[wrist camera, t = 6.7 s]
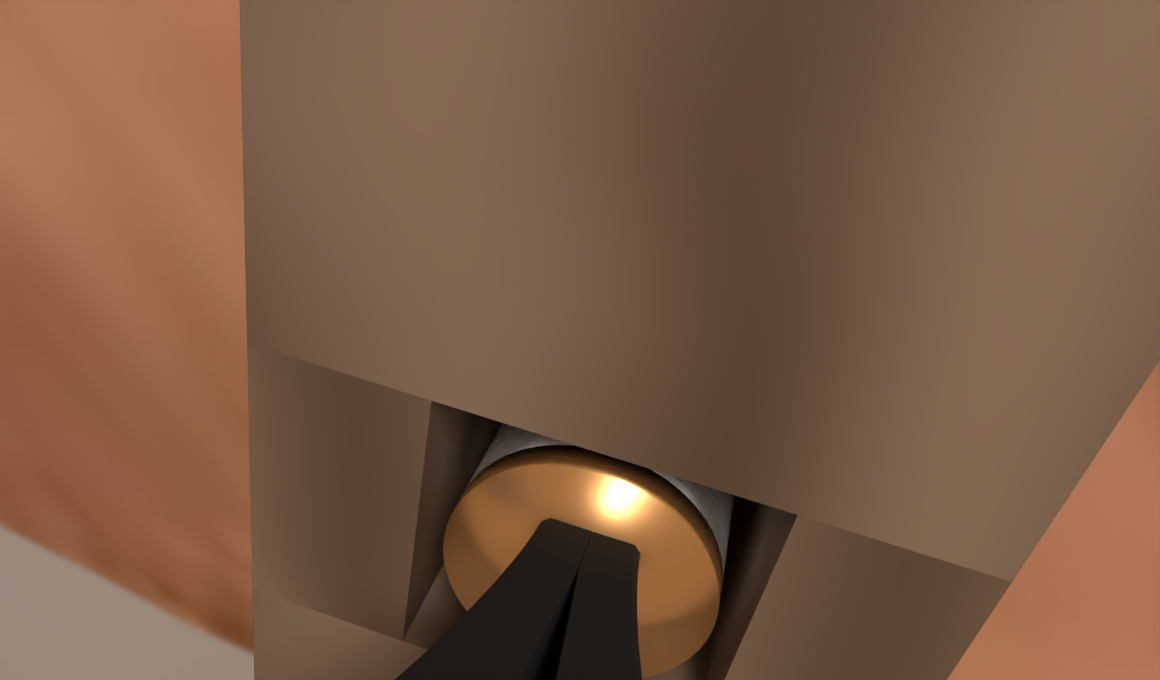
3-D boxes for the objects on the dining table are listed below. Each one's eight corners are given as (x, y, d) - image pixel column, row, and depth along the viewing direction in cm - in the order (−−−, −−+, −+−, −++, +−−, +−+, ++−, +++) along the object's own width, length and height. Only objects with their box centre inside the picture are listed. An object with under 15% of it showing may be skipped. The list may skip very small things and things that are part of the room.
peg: (518, 456, 17) (430, 628, 13) (551, 283, 15) (459, 429, 11) (711, 518, 17) (678, 714, 13) (774, 348, 15) (756, 523, 11)
